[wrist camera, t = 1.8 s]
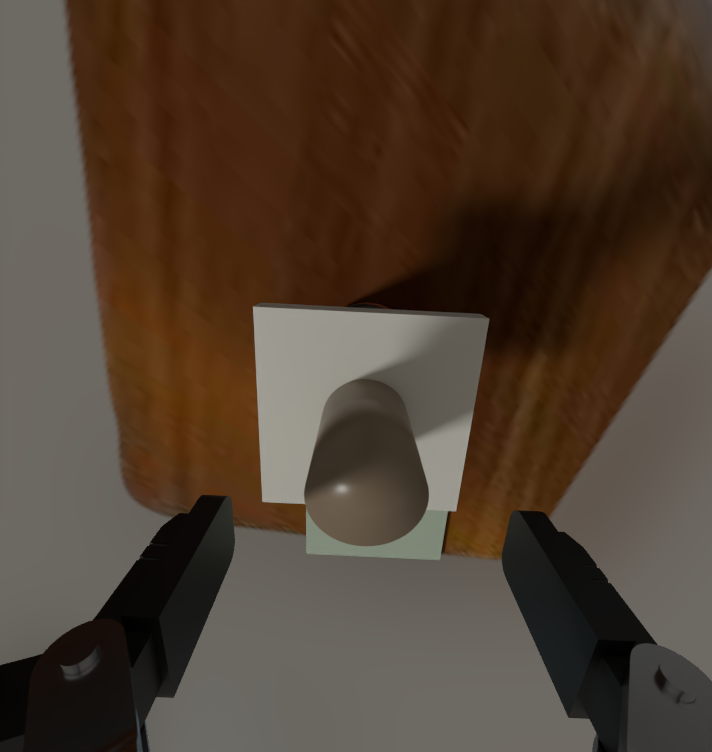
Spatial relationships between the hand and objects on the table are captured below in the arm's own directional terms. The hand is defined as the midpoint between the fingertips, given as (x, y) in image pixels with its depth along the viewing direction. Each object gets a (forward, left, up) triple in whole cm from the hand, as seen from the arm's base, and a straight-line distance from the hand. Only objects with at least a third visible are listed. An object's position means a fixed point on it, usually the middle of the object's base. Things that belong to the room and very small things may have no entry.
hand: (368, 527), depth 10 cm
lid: (0, 0, -8) cm, 8 cm away
